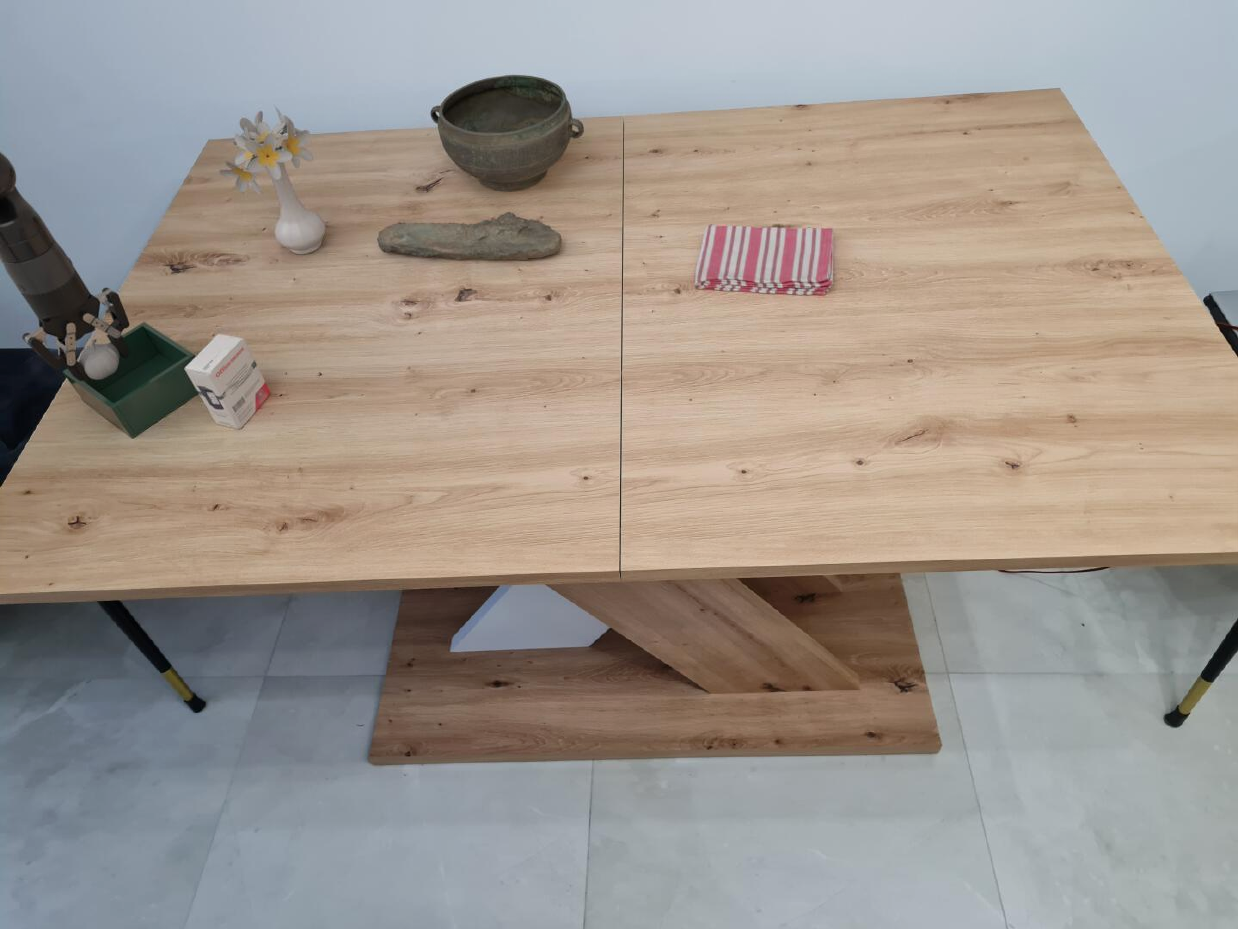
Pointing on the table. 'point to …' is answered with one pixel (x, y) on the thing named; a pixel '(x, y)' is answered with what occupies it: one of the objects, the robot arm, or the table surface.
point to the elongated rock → (473, 239)
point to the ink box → (228, 380)
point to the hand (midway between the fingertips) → (104, 367)
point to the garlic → (99, 360)
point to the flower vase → (278, 178)
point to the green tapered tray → (141, 382)
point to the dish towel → (766, 260)
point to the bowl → (506, 129)
